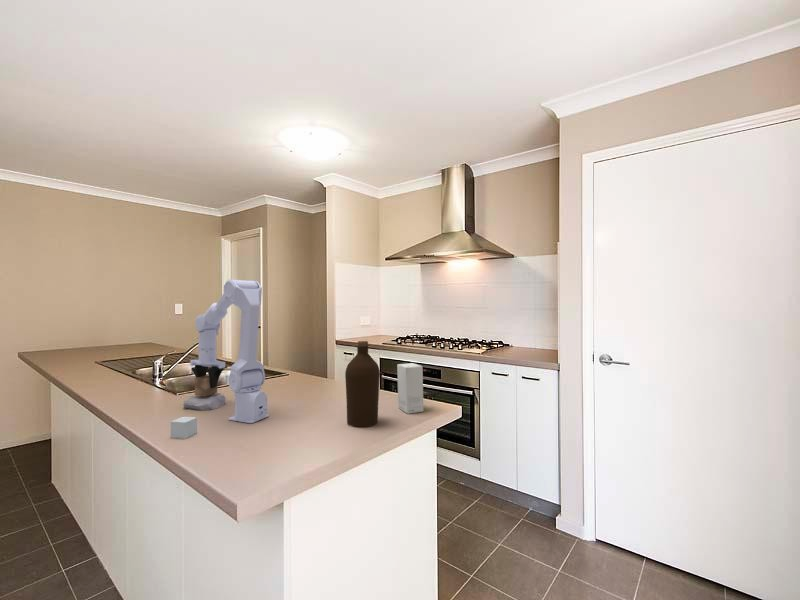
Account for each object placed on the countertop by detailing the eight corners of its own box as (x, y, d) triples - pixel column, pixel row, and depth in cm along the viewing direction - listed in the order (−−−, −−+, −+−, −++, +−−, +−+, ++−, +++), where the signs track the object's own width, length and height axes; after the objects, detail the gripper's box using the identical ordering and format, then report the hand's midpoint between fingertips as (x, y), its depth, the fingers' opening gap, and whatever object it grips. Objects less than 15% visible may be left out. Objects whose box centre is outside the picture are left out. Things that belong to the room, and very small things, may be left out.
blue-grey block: (196, 433, 109) (196, 417, 109) (185, 439, 104) (185, 422, 104) (183, 432, 110) (183, 416, 110) (170, 437, 105) (170, 421, 105)
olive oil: (353, 430, 111) (353, 344, 111) (340, 420, 121) (340, 340, 121) (385, 424, 117) (386, 342, 117) (370, 415, 126) (371, 339, 126)
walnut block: (217, 392, 138) (216, 376, 138) (206, 396, 133) (205, 379, 133) (206, 391, 140) (206, 375, 140) (194, 395, 135) (194, 378, 135)
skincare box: (423, 412, 130) (424, 366, 129) (405, 414, 127) (405, 367, 127) (413, 405, 137) (414, 362, 137) (396, 407, 135) (396, 363, 135)
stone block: (213, 416, 131) (228, 402, 140) (210, 403, 130) (226, 390, 139) (179, 416, 132) (197, 403, 141) (177, 403, 131) (195, 390, 140)
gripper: (182, 349, 136) (182, 387, 136) (213, 351, 131) (213, 391, 131) (199, 346, 143) (199, 383, 143) (229, 348, 137) (229, 386, 137)
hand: (207, 386), depth 137 cm, fingers closed on walnut block, 5 cm apart
